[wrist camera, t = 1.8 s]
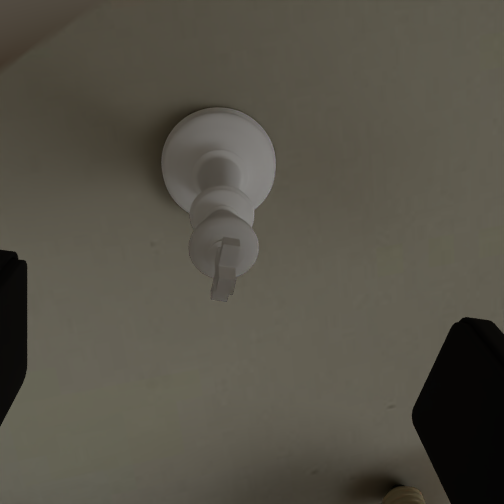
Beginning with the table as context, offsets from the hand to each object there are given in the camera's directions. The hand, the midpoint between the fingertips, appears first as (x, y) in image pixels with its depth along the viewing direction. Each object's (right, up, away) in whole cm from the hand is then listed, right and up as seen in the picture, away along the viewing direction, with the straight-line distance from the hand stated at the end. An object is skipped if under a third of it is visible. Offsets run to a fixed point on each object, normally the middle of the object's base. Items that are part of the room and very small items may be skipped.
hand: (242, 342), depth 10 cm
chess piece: (-1, +6, +10) cm, 12 cm away
